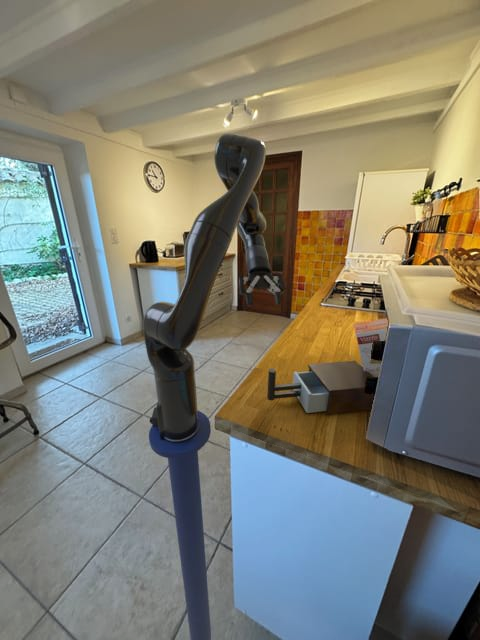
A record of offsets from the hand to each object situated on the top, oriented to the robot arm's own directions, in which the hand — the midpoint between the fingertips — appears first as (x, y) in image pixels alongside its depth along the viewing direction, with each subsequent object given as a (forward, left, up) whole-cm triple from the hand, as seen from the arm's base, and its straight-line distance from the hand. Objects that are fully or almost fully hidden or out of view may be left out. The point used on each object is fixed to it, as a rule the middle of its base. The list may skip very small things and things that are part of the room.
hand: (264, 305), depth 77 cm
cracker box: (+36, -15, -22) cm, 45 cm away
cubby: (+20, -15, -25) cm, 35 cm away
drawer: (+10, -15, -24) cm, 30 cm away
